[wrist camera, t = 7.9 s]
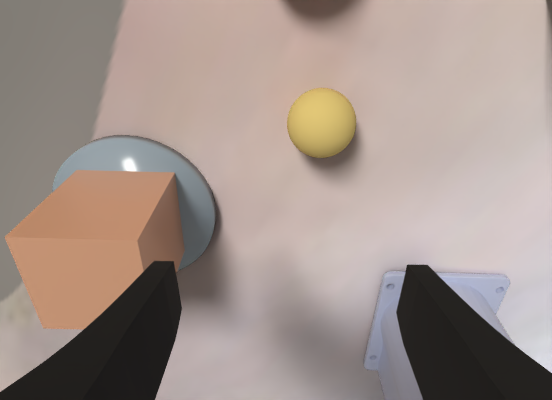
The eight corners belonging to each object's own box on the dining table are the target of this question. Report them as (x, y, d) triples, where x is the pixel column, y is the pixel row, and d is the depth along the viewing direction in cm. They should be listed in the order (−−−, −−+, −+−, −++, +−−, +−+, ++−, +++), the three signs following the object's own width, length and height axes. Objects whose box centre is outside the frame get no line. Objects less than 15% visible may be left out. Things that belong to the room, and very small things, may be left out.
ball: (346, 143, 20) (356, 170, 17) (285, 141, 20) (286, 168, 17) (354, 81, 18) (367, 100, 15) (288, 79, 18) (289, 97, 15)
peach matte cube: (184, 250, 23) (155, 331, 17) (98, 248, 23) (43, 328, 17) (174, 172, 20) (137, 240, 15) (76, 169, 20) (4, 236, 15)
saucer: (219, 269, 24) (217, 277, 24) (80, 265, 24) (74, 273, 24) (211, 137, 20) (208, 143, 19) (39, 132, 20) (30, 137, 19)
